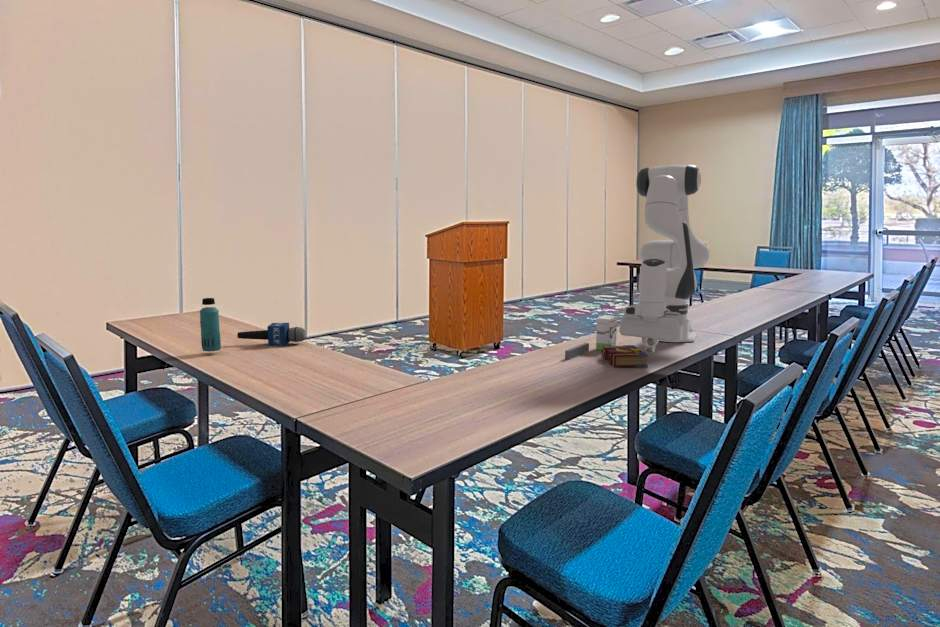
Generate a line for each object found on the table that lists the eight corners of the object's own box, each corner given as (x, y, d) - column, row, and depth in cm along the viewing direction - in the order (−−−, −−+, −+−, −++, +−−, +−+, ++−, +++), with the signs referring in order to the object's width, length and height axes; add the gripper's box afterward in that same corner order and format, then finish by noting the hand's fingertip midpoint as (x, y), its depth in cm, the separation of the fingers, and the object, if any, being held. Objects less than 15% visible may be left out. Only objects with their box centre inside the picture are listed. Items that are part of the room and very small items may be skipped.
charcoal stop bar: (584, 350, 228) (585, 342, 227) (588, 351, 227) (589, 343, 226) (565, 359, 215) (565, 350, 214) (568, 359, 214) (569, 351, 213)
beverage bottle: (218, 351, 228) (215, 296, 224) (224, 354, 222) (220, 298, 219) (199, 353, 224) (195, 297, 220) (204, 356, 218) (201, 299, 215)
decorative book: (613, 368, 202) (614, 353, 202) (600, 357, 218) (600, 343, 218) (648, 368, 203) (648, 353, 202) (632, 357, 219) (632, 343, 218)
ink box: (608, 351, 227) (609, 319, 225) (595, 349, 230) (596, 317, 228) (616, 347, 234) (617, 315, 232) (603, 345, 237) (604, 314, 235)
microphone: (240, 323, 241) (306, 322, 242) (241, 343, 242) (307, 342, 244) (234, 326, 233) (303, 326, 235) (235, 347, 234) (303, 346, 236)
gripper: (687, 311, 200) (684, 353, 202) (625, 305, 211) (623, 346, 214) (681, 313, 195) (678, 357, 197) (618, 308, 206) (616, 349, 208)
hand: (649, 351), depth 205 cm, fingers closed
